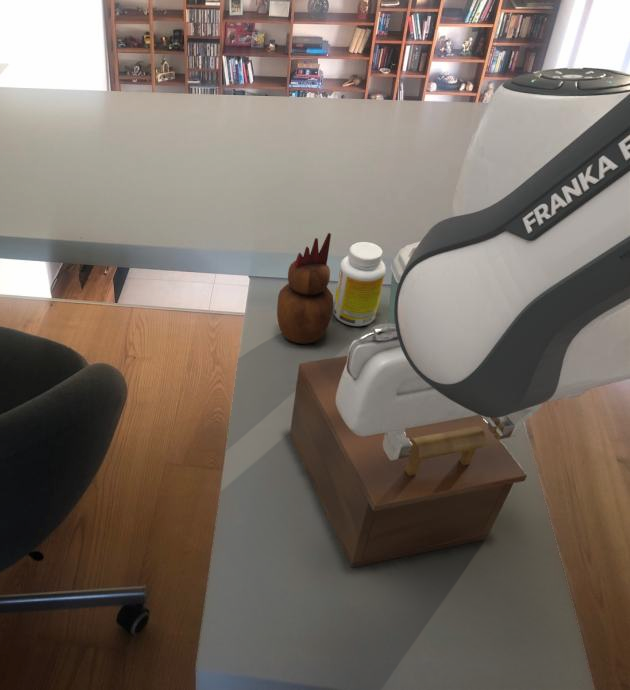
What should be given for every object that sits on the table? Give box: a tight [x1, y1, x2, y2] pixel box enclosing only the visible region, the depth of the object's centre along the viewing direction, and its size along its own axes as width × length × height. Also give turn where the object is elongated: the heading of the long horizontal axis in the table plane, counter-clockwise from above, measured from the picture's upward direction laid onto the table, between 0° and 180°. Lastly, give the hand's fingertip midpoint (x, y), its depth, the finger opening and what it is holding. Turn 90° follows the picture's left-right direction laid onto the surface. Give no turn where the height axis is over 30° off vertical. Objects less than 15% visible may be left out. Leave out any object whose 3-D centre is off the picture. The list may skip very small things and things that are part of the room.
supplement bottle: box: [333, 241, 386, 327], centre depth 89 cm, size 6×6×10 cm
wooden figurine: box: [276, 232, 334, 345], centre depth 84 cm, size 7×6×15 cm
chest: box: [289, 369, 514, 568], centre depth 68 cm, size 17×14×10 cm
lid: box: [298, 355, 528, 511], centre depth 63 cm, size 18×14×5 cm
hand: (448, 442), depth 57 cm, fingers open, 8 cm apart
